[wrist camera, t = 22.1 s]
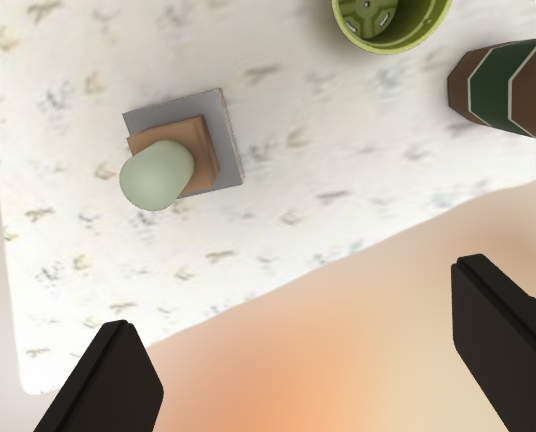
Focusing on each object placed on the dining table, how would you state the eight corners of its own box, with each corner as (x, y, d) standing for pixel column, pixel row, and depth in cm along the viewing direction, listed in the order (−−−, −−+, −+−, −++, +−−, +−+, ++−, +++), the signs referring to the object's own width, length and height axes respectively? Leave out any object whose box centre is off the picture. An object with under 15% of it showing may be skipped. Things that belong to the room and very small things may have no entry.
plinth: (132, 110, 39) (122, 113, 36) (220, 88, 38) (216, 89, 35) (163, 195, 42) (156, 203, 39) (244, 176, 41) (242, 184, 39)
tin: (138, 145, 31) (109, 161, 25) (186, 133, 31) (167, 147, 25) (155, 191, 33) (132, 216, 27) (201, 181, 32) (187, 203, 27)
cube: (148, 128, 36) (126, 138, 31) (203, 114, 36) (191, 122, 30) (167, 182, 39) (150, 201, 33) (220, 170, 38) (212, 187, 32)
